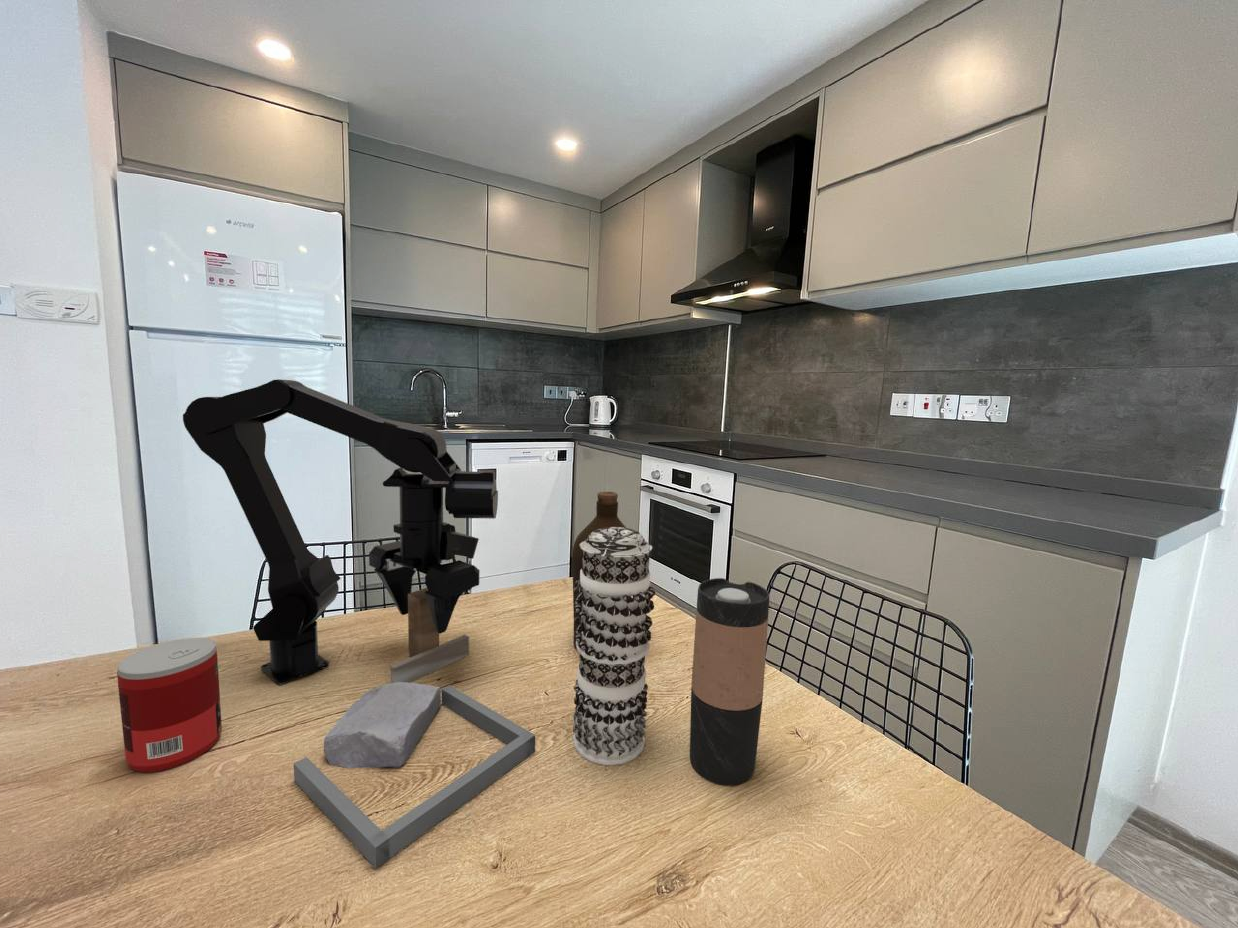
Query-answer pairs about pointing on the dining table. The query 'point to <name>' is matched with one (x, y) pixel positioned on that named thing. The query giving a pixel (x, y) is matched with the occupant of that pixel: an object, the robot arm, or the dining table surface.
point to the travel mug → (728, 679)
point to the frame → (433, 810)
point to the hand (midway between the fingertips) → (422, 622)
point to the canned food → (169, 703)
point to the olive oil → (603, 519)
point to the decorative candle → (612, 645)
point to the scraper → (425, 643)
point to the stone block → (382, 726)
